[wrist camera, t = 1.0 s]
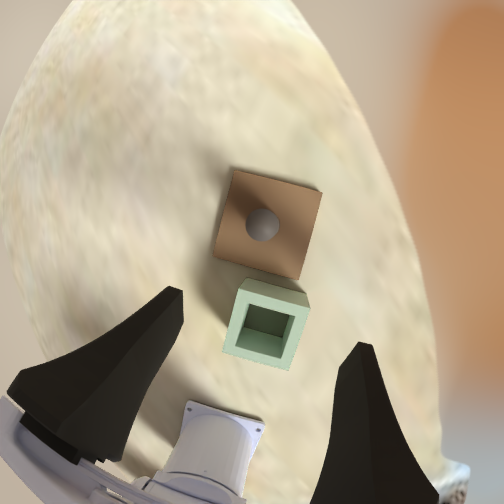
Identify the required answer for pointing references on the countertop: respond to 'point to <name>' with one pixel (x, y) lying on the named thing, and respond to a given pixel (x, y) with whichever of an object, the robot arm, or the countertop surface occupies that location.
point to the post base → (289, 213)
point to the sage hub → (259, 343)
